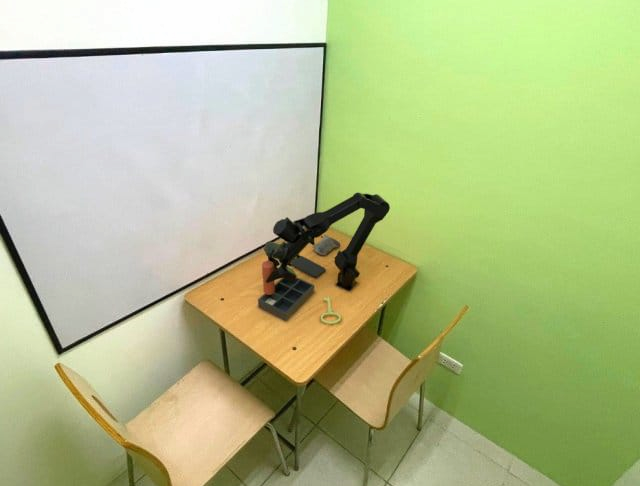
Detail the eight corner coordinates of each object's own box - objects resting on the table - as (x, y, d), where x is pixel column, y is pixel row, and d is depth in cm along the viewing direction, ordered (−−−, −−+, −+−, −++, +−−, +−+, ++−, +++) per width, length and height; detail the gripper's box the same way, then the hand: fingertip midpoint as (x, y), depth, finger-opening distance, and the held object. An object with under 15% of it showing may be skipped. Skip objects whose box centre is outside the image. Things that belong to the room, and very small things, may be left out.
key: (328, 299, 143) (329, 295, 142) (342, 322, 134) (343, 318, 133) (311, 304, 141) (311, 300, 139) (324, 327, 132) (324, 323, 131)
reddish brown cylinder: (276, 288, 137) (275, 261, 129) (272, 295, 134) (271, 268, 126) (265, 286, 138) (264, 259, 130) (262, 293, 134) (260, 266, 127)
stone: (309, 252, 171) (323, 262, 165) (306, 244, 167) (321, 253, 161) (328, 238, 175) (342, 247, 169) (326, 230, 172) (341, 238, 165)
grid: (313, 292, 146) (314, 285, 143) (285, 321, 133) (285, 313, 131) (287, 280, 151) (287, 273, 148) (258, 307, 138) (257, 299, 135)
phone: (300, 254, 163) (326, 268, 156) (300, 256, 164) (326, 270, 157) (288, 262, 159) (315, 277, 151) (288, 263, 159) (315, 278, 152)
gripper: (269, 221, 129) (241, 253, 132) (287, 251, 116) (255, 286, 119) (291, 236, 136) (263, 266, 140) (310, 266, 123) (279, 298, 127)
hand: (264, 278), depth 131 cm, fingers closed on reddish brown cylinder, 4 cm apart
